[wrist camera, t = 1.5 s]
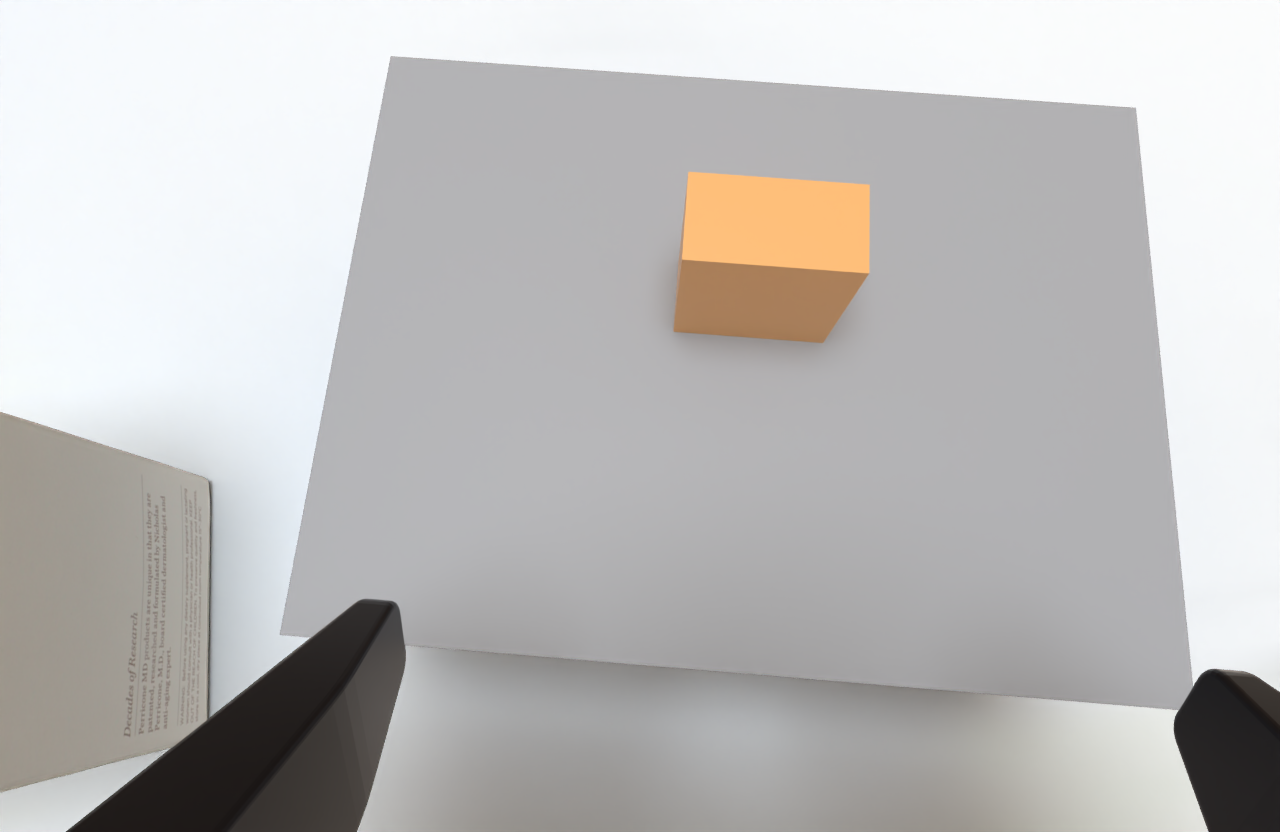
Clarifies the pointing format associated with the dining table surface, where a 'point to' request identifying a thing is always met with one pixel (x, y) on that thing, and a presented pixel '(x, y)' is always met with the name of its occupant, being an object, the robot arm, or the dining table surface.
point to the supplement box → (97, 603)
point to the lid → (753, 386)
